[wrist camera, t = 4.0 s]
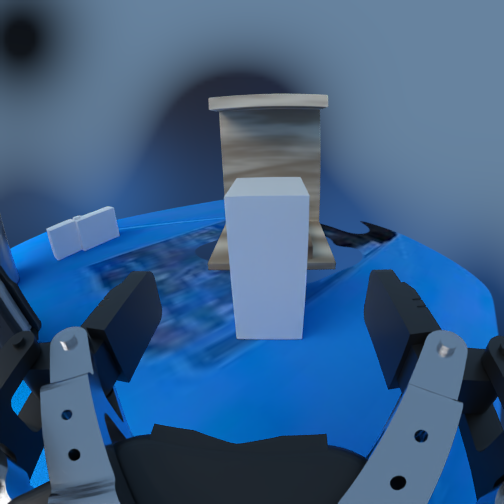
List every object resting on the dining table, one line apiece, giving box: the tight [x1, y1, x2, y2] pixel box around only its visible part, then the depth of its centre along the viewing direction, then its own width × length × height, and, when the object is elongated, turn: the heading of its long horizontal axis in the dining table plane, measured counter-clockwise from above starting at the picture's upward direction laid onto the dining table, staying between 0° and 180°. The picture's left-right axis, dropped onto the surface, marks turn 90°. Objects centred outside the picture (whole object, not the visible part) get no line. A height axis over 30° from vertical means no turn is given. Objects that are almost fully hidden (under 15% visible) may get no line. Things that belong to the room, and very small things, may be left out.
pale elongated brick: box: [224, 177, 309, 339], centre depth 22 cm, size 6×5×11 cm
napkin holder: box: [46, 206, 120, 261], centre depth 39 cm, size 15×11×6 cm
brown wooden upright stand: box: [208, 94, 336, 270], centre depth 34 cm, size 15×14×19 cm
